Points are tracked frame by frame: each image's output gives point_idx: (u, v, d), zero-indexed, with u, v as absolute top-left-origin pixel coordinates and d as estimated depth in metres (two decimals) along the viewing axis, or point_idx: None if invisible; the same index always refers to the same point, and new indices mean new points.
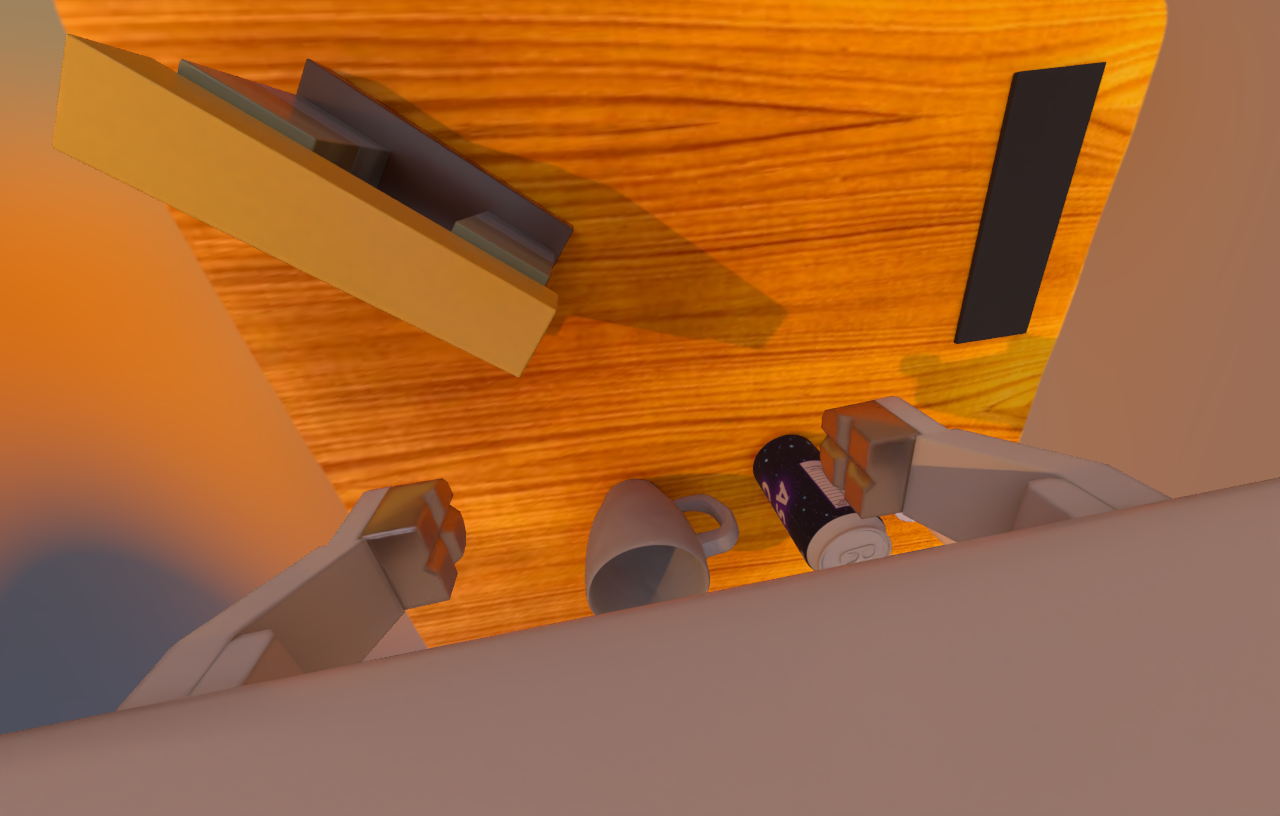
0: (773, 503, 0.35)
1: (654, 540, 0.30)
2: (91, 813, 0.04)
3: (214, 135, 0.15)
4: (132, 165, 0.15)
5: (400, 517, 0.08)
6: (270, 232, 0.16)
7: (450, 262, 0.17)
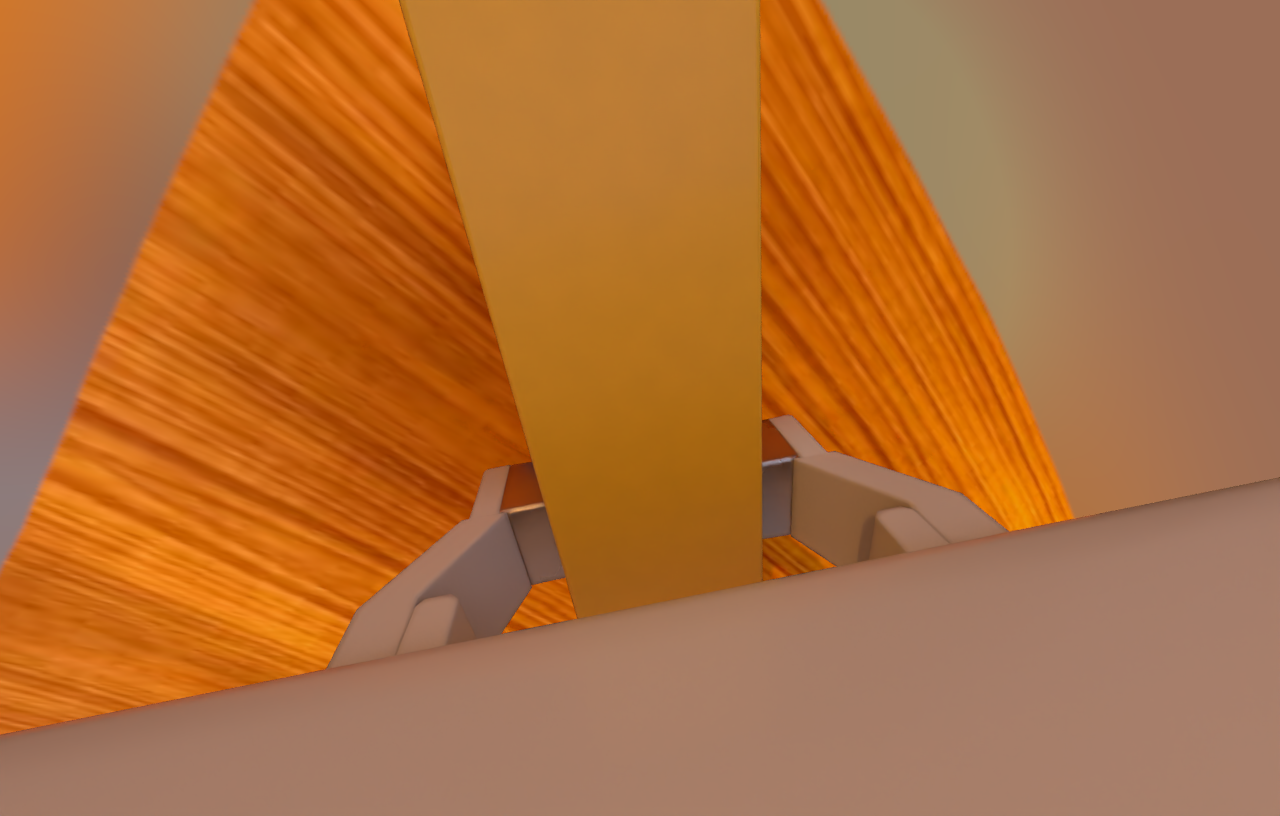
0: None
1: None
2: (91, 813, 0.04)
3: (720, 293, 0.06)
4: (512, 155, 0.05)
5: (534, 492, 0.08)
6: (589, 462, 0.07)
7: None
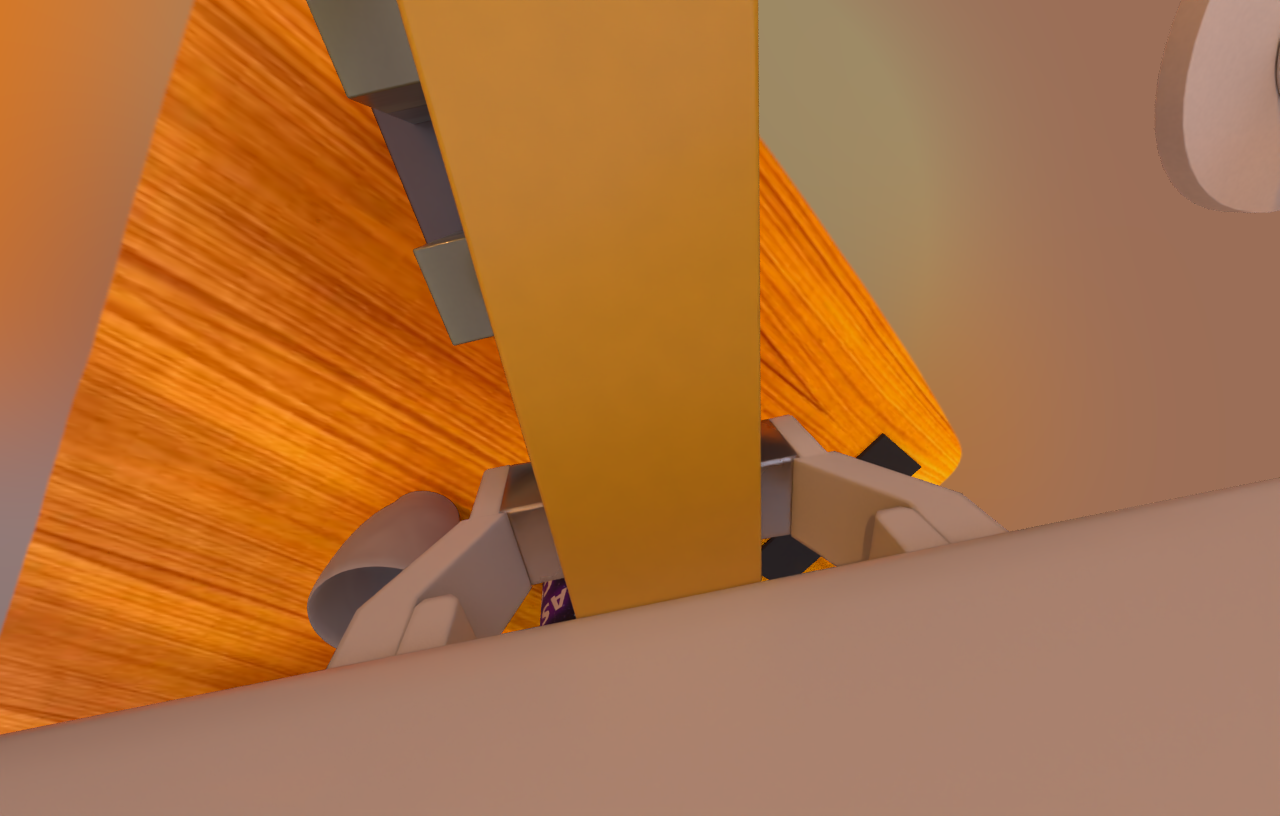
0: (545, 600, 0.36)
1: None
2: (90, 813, 0.04)
3: (719, 293, 0.06)
4: (510, 154, 0.05)
5: (534, 492, 0.08)
6: (587, 462, 0.07)
7: None
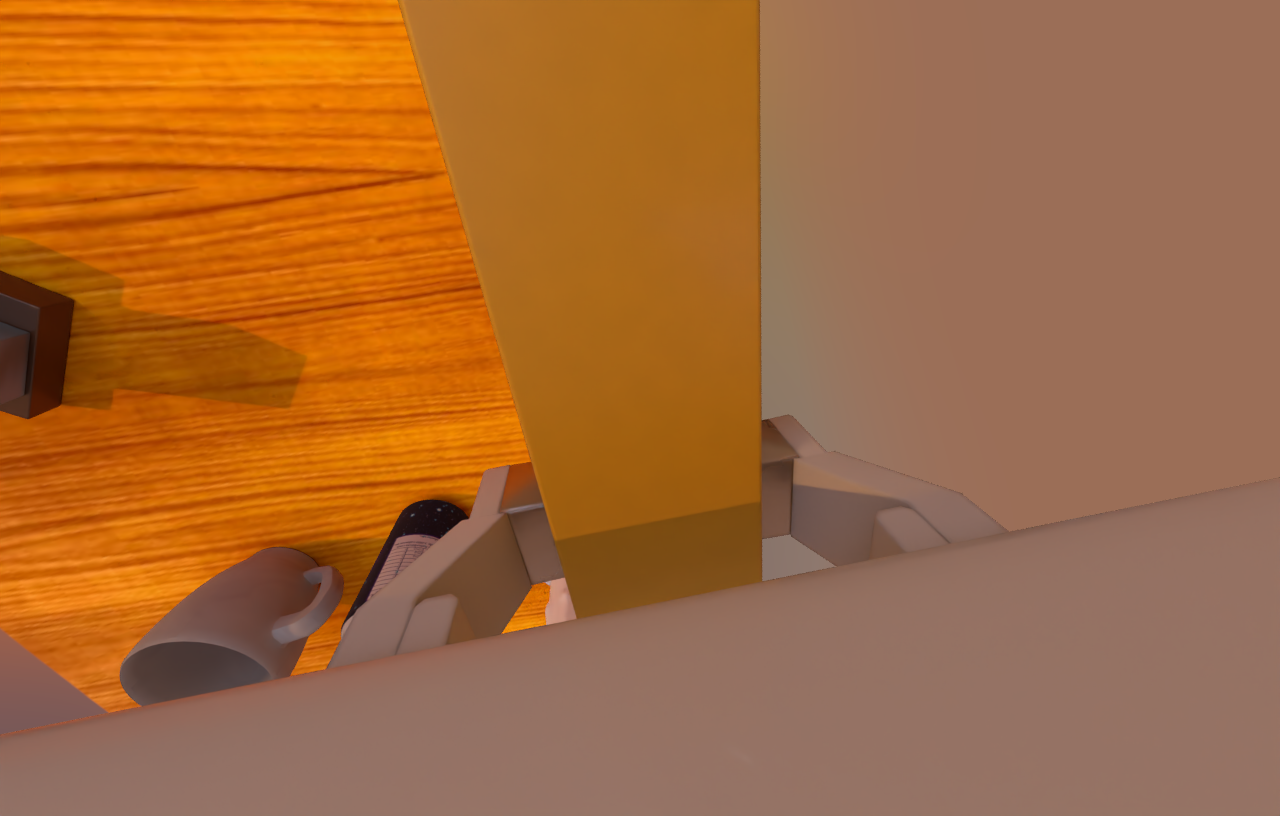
0: None
1: (177, 636, 0.27)
2: (91, 813, 0.04)
3: (720, 297, 0.06)
4: (512, 160, 0.05)
5: (534, 492, 0.08)
6: (589, 465, 0.07)
7: None
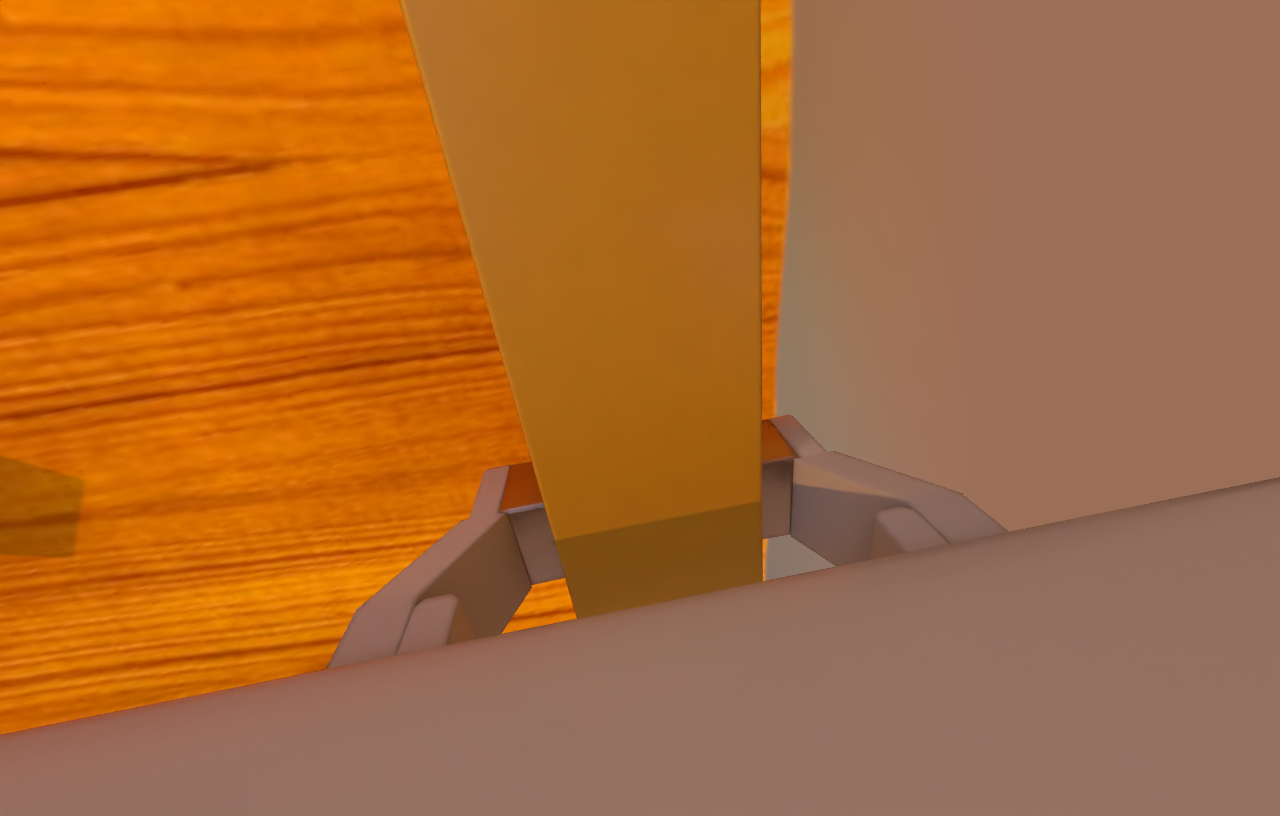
0: None
1: None
2: (91, 813, 0.04)
3: (721, 297, 0.06)
4: (513, 161, 0.05)
5: (533, 492, 0.08)
6: (589, 465, 0.07)
7: None
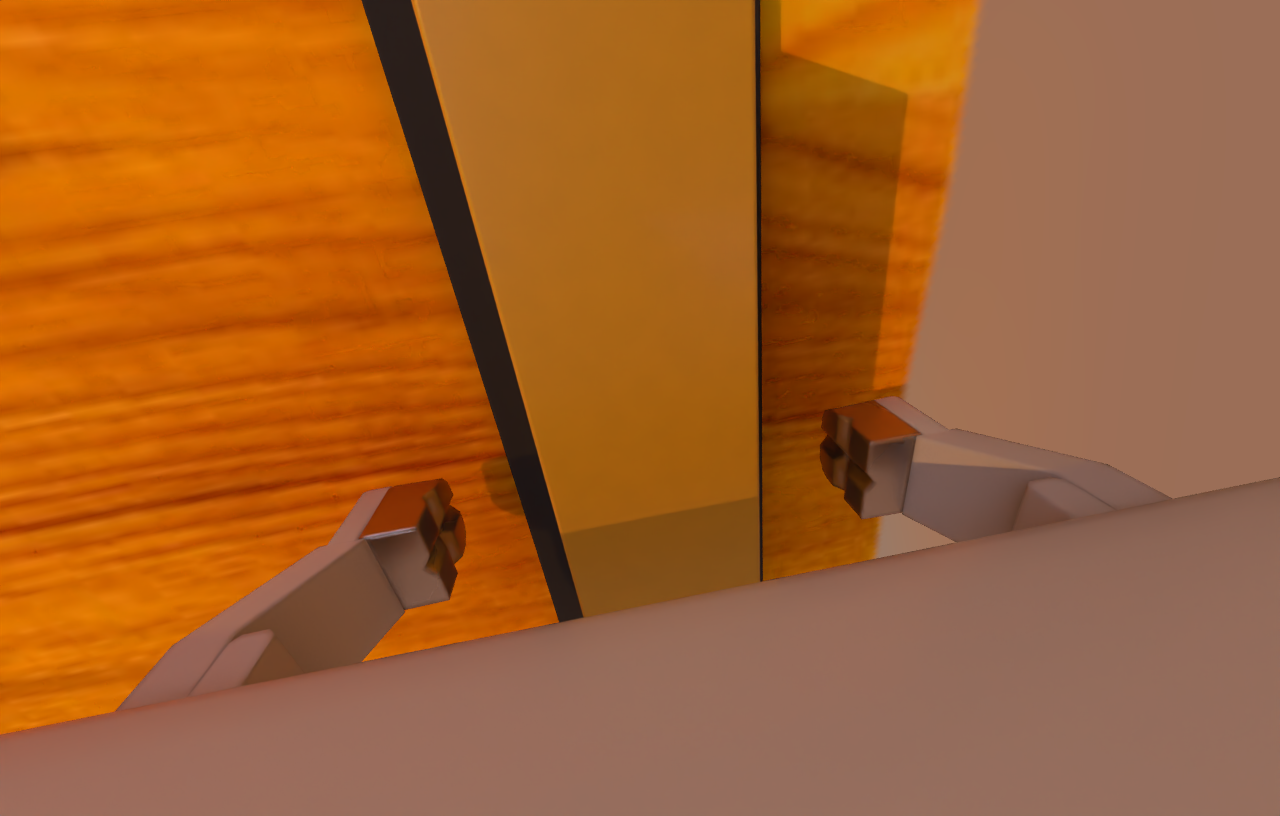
0: None
1: None
2: (91, 813, 0.04)
3: (718, 301, 0.06)
4: (524, 173, 0.05)
5: (400, 517, 0.08)
6: (594, 461, 0.07)
7: None
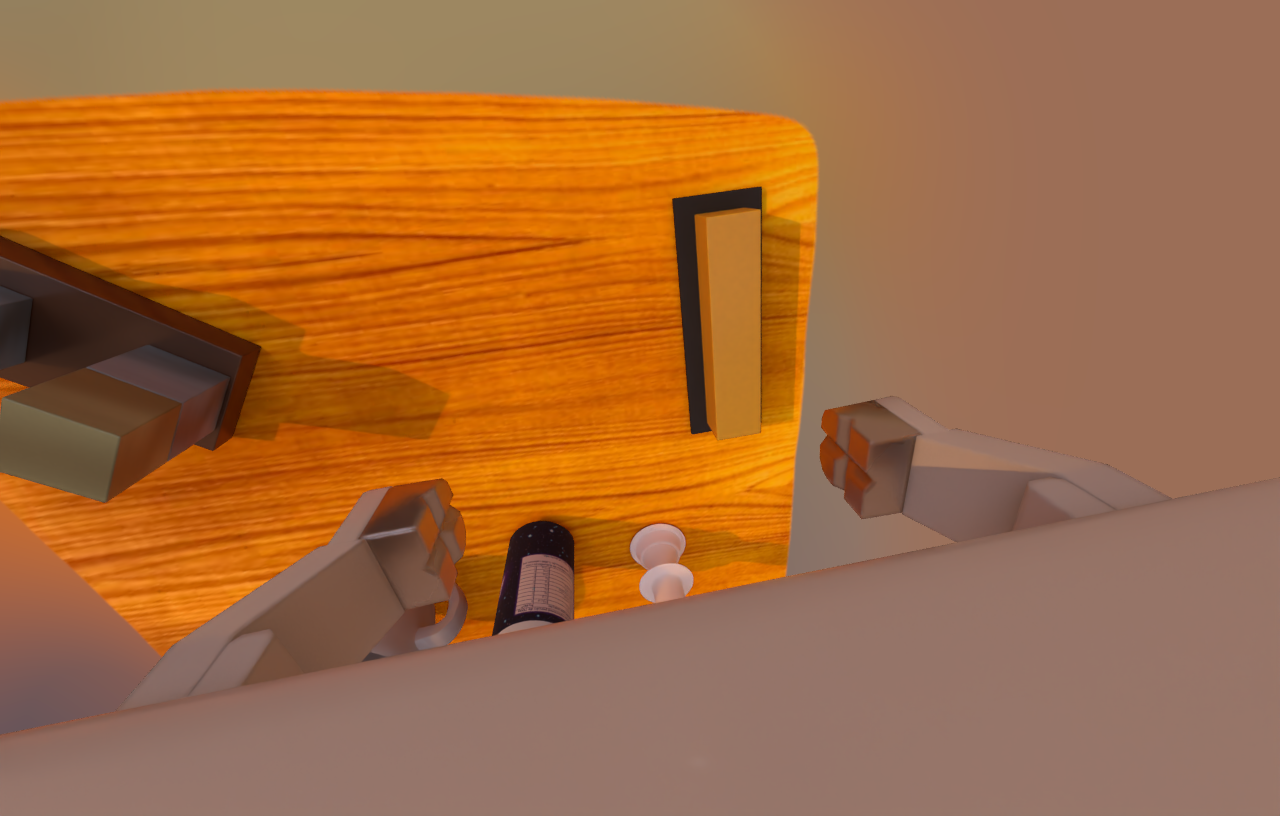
0: None
1: None
2: (91, 813, 0.04)
3: (752, 274, 0.29)
4: (718, 250, 0.28)
5: (400, 517, 0.08)
6: (722, 312, 0.30)
7: (755, 383, 0.33)
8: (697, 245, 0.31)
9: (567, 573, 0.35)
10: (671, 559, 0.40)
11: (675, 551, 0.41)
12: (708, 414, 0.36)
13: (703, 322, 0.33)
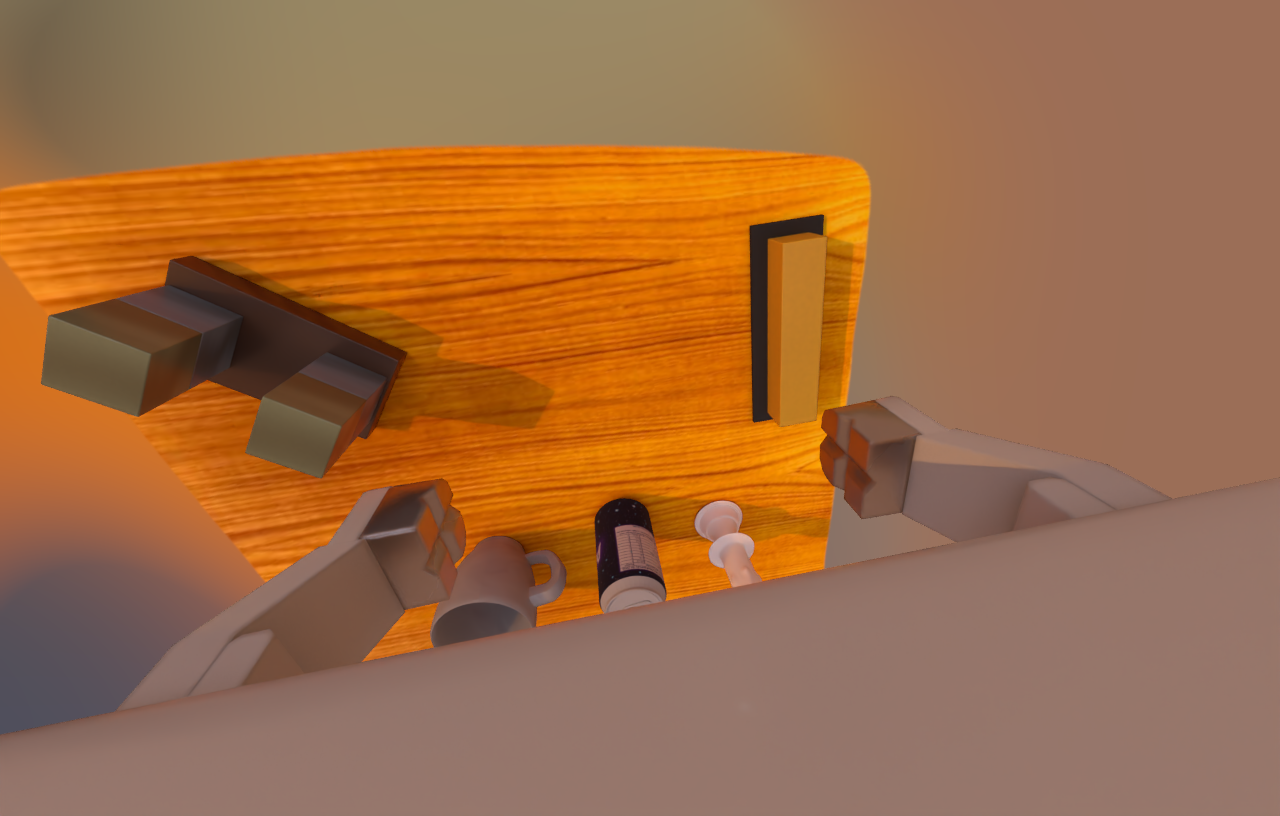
0: None
1: (478, 598, 0.37)
2: (91, 813, 0.04)
3: (817, 288, 0.35)
4: (791, 269, 0.34)
5: (400, 517, 0.08)
6: (791, 320, 0.36)
7: (814, 378, 0.39)
8: (769, 264, 0.37)
9: (652, 541, 0.42)
10: (733, 530, 0.47)
11: (735, 524, 0.47)
12: (770, 405, 0.42)
13: (770, 327, 0.39)
